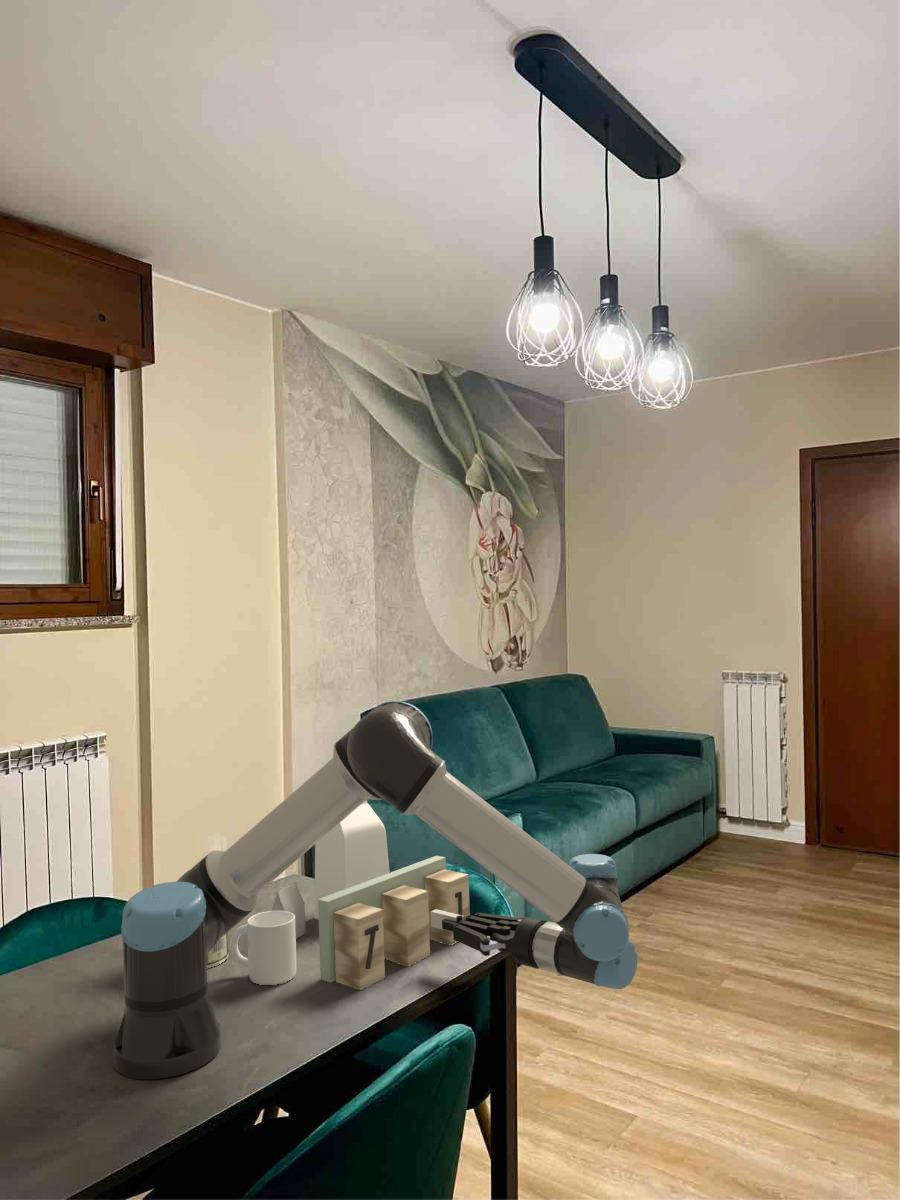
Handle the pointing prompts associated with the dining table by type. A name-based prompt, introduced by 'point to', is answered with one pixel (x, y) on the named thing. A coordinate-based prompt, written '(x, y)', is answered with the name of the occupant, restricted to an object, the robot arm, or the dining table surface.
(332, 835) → the milk
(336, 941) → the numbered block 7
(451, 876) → the numbered block 1
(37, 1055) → the dining table surface
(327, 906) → the rack board
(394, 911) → the plain block
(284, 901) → the white juice carton
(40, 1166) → the dining table surface
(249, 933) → the mug
